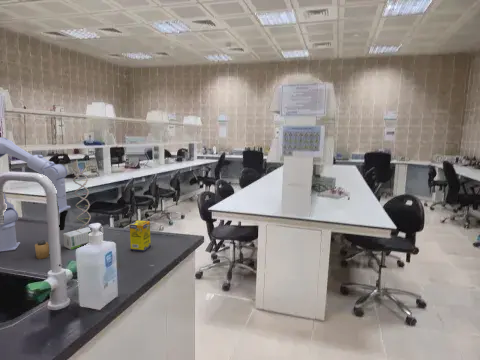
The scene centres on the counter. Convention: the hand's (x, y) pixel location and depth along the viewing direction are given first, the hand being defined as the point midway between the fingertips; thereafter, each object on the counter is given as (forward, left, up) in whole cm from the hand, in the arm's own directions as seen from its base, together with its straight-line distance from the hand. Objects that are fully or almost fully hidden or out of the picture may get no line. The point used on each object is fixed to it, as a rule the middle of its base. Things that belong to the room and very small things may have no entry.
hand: (61, 229), depth 123 cm
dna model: (+7, +22, -9) cm, 25 cm away
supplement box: (+29, -10, -9) cm, 32 cm away
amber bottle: (-6, -4, -8) cm, 11 cm away
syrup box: (+1, +1, -6) cm, 6 cm away
